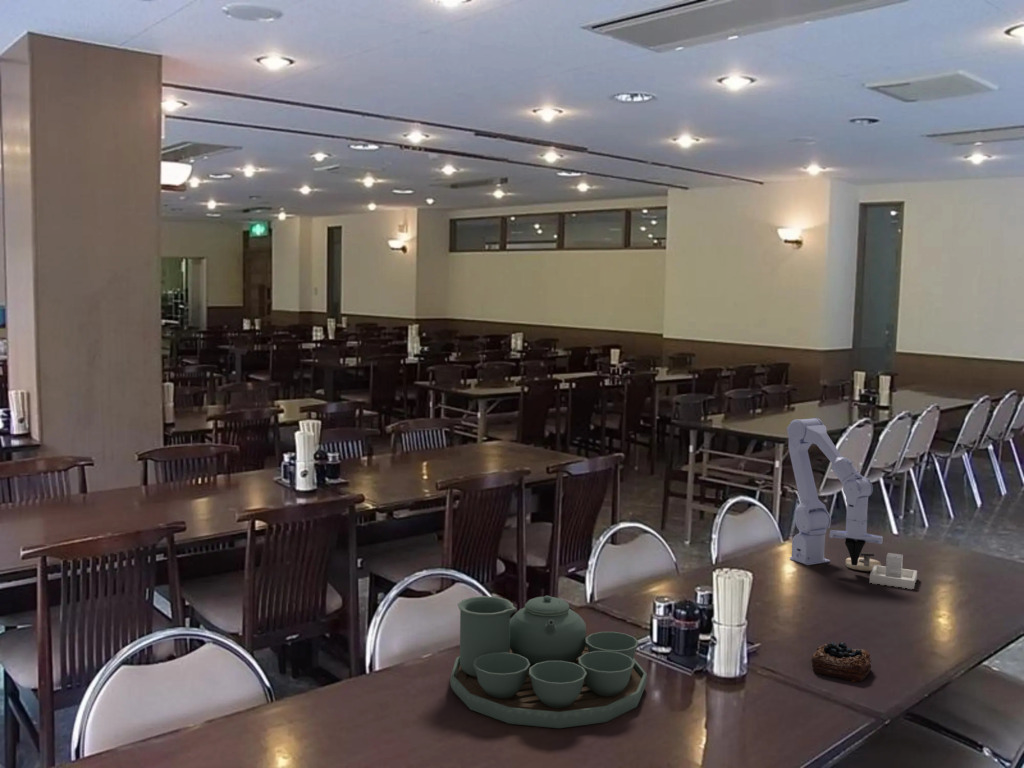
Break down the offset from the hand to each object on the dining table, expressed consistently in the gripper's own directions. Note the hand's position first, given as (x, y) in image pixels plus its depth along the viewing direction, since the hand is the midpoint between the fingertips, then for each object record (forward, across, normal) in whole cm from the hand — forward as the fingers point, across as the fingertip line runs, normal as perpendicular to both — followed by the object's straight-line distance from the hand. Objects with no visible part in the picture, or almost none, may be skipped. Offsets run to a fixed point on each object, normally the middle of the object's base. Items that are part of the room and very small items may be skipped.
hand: (854, 564), depth 271 cm
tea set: (+3, +41, +118) cm, 125 cm away
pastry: (+3, -9, +78) cm, 79 cm away
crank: (+3, -1, -8) cm, 9 cm away
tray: (+3, -11, +2) cm, 12 cm away
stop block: (+2, -11, +2) cm, 11 cm away
